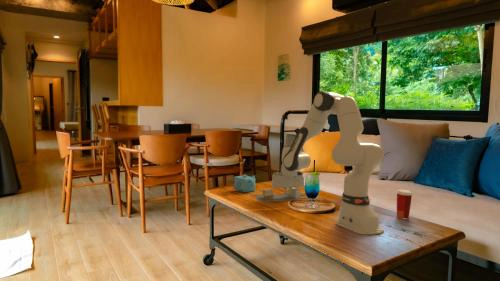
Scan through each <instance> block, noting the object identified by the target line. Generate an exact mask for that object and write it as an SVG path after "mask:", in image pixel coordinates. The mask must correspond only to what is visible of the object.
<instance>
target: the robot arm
mask: <svg viewBox="0 0 500 281" xmlns="http://www.w3.org/2000/svg"><path fill="white" fill-rule="evenodd" d="M330 115H334V116H336V117H337V122H338V127H339V133H340V134H339V135H340V136H339V140H338V142H337V143H336V144H335V145H334V147H333V148H332V150H331V157H332V160H333V161H334V162H333V163H335V164H337V165H340V166H345V167H353V166H354V167H353V169H352V171H350V172H349V173H348V174H346V175H345V176H344V180H343V192H342V195H341V201H342V202H341V204H340V207H339V211H338V217H337V220H336V222H335V224H336V225H337V226H340V227H342V228H344V229H346V230H349V231H351V232H354V233H355V234H358V235H378V234H383V233H385V230H384V228H382V227H381V226H379V223H380V222H379V217H378V214H377V213H376V212H375V211H374V210H373V208H372V207H371V204H370V203H371V202H372V201H371V200H372V199H370V196H369V194H368V193H369V183H370V179H371V177H372V176H371V175H372V173H373V171H374V170H375V168H376V167H377V166H378V165H379V164H381V163H382V161H383V159H384V157H385V156H384V155H385V154H384V149H383V148H382V146H381V145H379V144H376V143H372V142H359V141H358V137H359V136H360V135H361V134H362V133H363V131H364V129H365V127H364V123H363V120H362V114H361V112H360V109H359V106H358V104H357V101H356V99H355V98H354V97H353V96H348V95H342V94H340V93H337V92H332V91H327V90H323V91H322V90H321V91H318V92H317V93H316V94H315V95H314V98H313V103H312V104H311V106H310V107H309V110H308V112H307V115H306V117H305V120H304V122H303V124H302V126H301V127H300V128H299V130H298V131H297V133H296V135H295V136H294V139H293V141H292V142H291V145H286V146H284V147H283V148H282V153H281V162H282V163H281V168H280V169H281V170H280V172H279V171H278V172H276V171H275V172H274V173H272V175H271V176H272V177H271V179H272V180H271V187H272V188H273V189H283V191H284V194H285V195H290V192H291V190H292V187H295V188H303V187H304V186H305V178H304V172H303V171H301V170H302V169H303V170H304V169H307V168H308V167H310V166H311V156H310V154H308V153H306V152H304V151H302V149H303V147H304V146H305V143H307V141H309V140H310V139H311V138H312V139H313V138H314V137H316V136H318V135H320V134H321V133H322V131H323V130H324V128H325V126H326V123H327V120H328V117H329V116H330ZM287 189H288V191H287Z"/></svg>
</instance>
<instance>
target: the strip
mask: <svg viewBox="0 0 500 281" xmlns="http://www.w3.org/2000/svg"><path fill="white" fill-rule="evenodd" d="M300 193H301V190H300V189H298V188H297V187H292V190H291V192H290V195H273V199H264V198H263V196H253V197H254V198H255V199H256V200H257V201H268V202H270V201H269V200H291V201H293V200H292V199H301V195H300Z"/></svg>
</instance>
